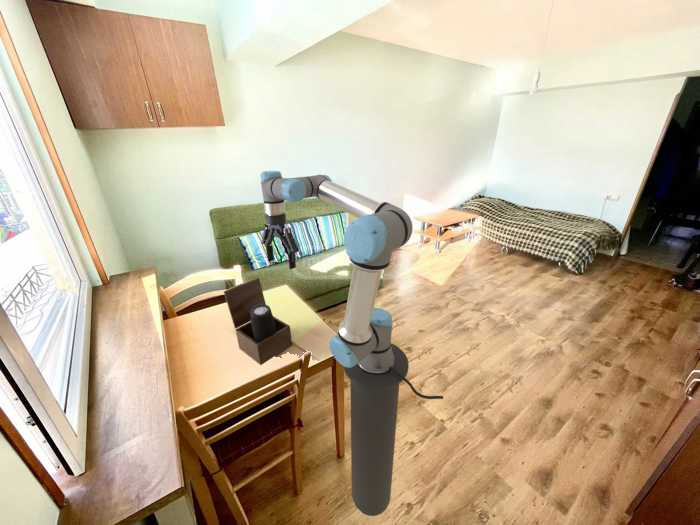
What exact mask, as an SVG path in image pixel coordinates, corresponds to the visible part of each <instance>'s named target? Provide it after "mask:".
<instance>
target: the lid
mask: <svg viewBox="0 0 700 525" xmlns="http://www.w3.org/2000/svg"><path fill="white" fill-rule="evenodd" d="M223 295H224V298H225V301H226V304H227V307H228V311H229V314H230V317H231V321H232V324H233V327H234V330H235V329H237V328H239V327H241V326H243V325H245V324H247V323H249V322H251V313H250V311H251V309H252V308H253V307H254V306H255V305H257V304H266V305H267V303H266V299H265V296H264V292H263V288H262V284H261V280H260V278H259V277H257V278H253V279H252V280H251V279H250V280H249V281H245V282H244V283H239V284H236V285H234V286H232V287H229V288H228V289H227V290H224V291H223Z"/></svg>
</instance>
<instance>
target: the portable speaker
mask: <svg viewBox="0 0 700 525" xmlns="http://www.w3.org/2000/svg"><path fill="white" fill-rule="evenodd" d="M250 313H251V321H250V322H251V325H252V329H253V334H254V338H255V341H256V342H257V343H259V342H261V341H262V340H264V339H266V338H267V337H269V336H271V335H272V334H274V333H276V330H275V324H274V318H273V316H274V315H273V312H272V308H271V307H270V306H269V305H268V304H267V303H266V304H257V305H255V306H254V307H253V308H252V309H251V311H250Z"/></svg>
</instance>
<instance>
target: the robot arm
mask: <svg viewBox="0 0 700 525" xmlns="http://www.w3.org/2000/svg"><path fill="white" fill-rule="evenodd" d="M260 186H261V193H262V199H263V208H264V213H265V223H263V231H262V232H263V233H262V237H261V245H264V247H265V252H266V256H267V262H268V263H270V262H273V261H275V255H274V248H273V242H274V240H275V238H278V239H279V240H280V241H281V242H282V243H283V245H284V247H285V248H286V250H287V252H288V253H287V258H288V268H289V270H293V269H295V268H296V267H297V265H296V261H297V258H296V253H299V252H300V249H299V247H298V244H297V241H296V239H295V237H294V235H293V231H292V228H291V227H289V226H288V227H286V223H287V214H286V213H285V212H286V206H285V201H287V202H290V203H294V202H295V203H299V202H302V201H303V200H304V199H308V198H317V199H319V200H321V201H323V202H325V203H327V204H329V205H331V206H333V207H335V208H337V209H339V210H341V211H343V212H344V213H347V214H349V215H351V216H352V217H355V218H356V219H354V220H352V221H351V222H350V223H349V224H348V225H347V226H346V228H345V231H344V234H343V247H344V248H345V249H346V250H345V253H346V255H347V256H348V258H349V261H350V263H351V264H352V272H351V278H350V283H349V288H348V289H349V290H348V296H347V302H346V309H345V314H344V319H342V320H341V321H340V323H338V324H339V325H338V327H337V333H336V335H335V336H333V337H332V338H331V339H330V340H329V342H328V345H329V346H328V347H329V350H330V353H331V354H332V356H333V358H334V359H335V361H337V362H338V364H340V365H341V366H342V367H343V366H344V367H347V368H351V367H353V366H355V365H356V364H358V366H359V368H360V369H361V370H363V371H364V372H366V373H369V374H373V375H380V374H385V373H387V372H389V371H390V370H392V371H393V372H394V373H395V374H397V375H398V376H399V377H400V378H401V379H403V382H405V383H406V384H407V385H408V386H409V387H410V389H411V390H412V392H413V393H414V394H415V395H416V396H418V397H419V398H421V399H426V400H444V396H443V395H424V394H423V393H420V392H418V391H417V390H416V388H415V387H414V385H413V384H412V383H411V382H410V380H408V379H407V377H405V378H404V377H403V376H402V375H401V374H399V373H398V372H397V371H396V370H394V369H393V366H394V354H393V352H392V349H391V343H392V332H393V330H392V329H393V316H392V314H391V313H390V312H389V311H388V310H386V309H384V308H381V307H375V305H376V299H377V294H378V291H379V287H380V282H381V278H382V274H383V271H384V270H386V269H387V268H389V266H390V263H391V258H392V254H393V251H394V250H395V251H396V250H397V249H399V248H402V247H403V246H405V245H406V244H407V243H408V242H409V241H410V239H411V237H412V234H413V227H414V226H413V221H412V219H411V217H410V215H409V214H408V213H407V212H406V211H405V210H404V209H402V208H400V207H398V206H396V205H394V204H392V203H391V202H387V201H382V202H379V201H377V200H374V199H372V198H370V197H368V196H365V195H363V194H361V193H359V192H356V191H354V190H351V189H349V188H347V187H345V186H342V185H340V184H338V183H335V182H333V180H332V179H331V177H330V176H329V175H326V174H315V175H307V176H299V177H298V176H297V177H283V176H282V172H281V171H280V170H266V171H262V172H260Z"/></svg>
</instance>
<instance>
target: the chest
mask: <svg viewBox="0 0 700 525" xmlns="http://www.w3.org/2000/svg"><path fill="white" fill-rule="evenodd" d="M273 318H274V324H275V330H276V333H274V334H272V335H271V336H269V337H267V338H266V339H264V340H262V341H261V342H259V343H257V342H256V341H255V338H254V334H253V329H252V325H251V321H250V322H248V323H246V324H244V325H242V326H240V327H238V328H236V329H235V328H234V330H235V335H236V340H237V344H238V349H239V350H240V351H241V352H243V353H244V354H245V355H247V356H248V357H249V358H251V359H252V360H253V361H255V362H256V363H257V364H259V365H260V366H262V365H264V364H265V363H267V362H268V361H270V360H272V359H273V358H274V357H276V356H277V355H279V354H281V353H282V352H284V351H285V350H287V349H288V348H289V347H291V346H293V341H292V332H291V326H290V325H289V324H288V323H286V322H284V321H283V320H281V319H279V318H277V317H276V316H274V315H273Z"/></svg>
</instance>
